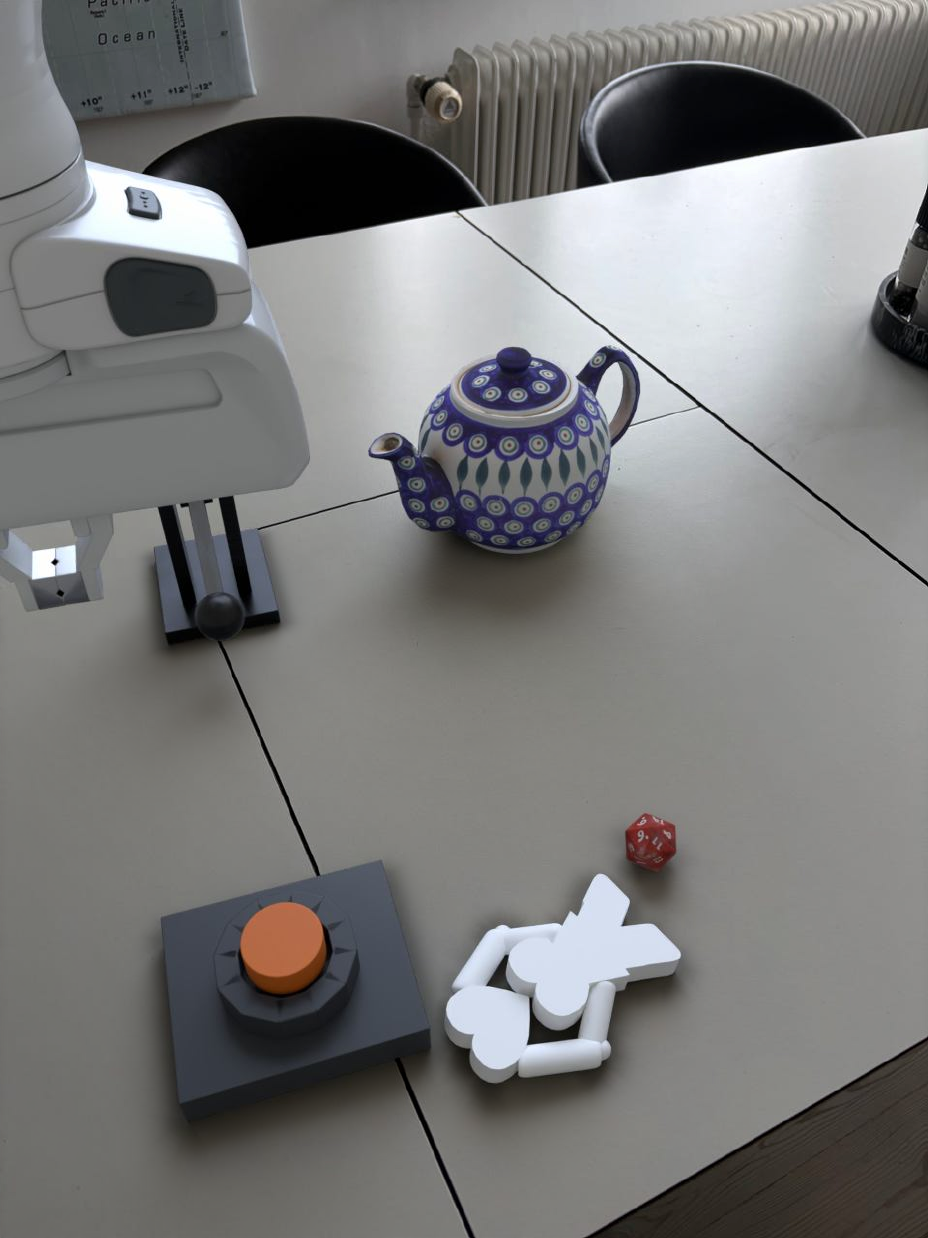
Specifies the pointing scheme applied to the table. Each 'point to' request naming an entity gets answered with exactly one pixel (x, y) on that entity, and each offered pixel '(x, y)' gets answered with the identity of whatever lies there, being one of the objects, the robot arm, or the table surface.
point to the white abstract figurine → (553, 987)
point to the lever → (212, 583)
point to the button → (283, 948)
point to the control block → (289, 995)
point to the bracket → (236, 565)
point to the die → (650, 842)
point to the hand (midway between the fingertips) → (66, 596)
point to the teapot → (512, 450)
